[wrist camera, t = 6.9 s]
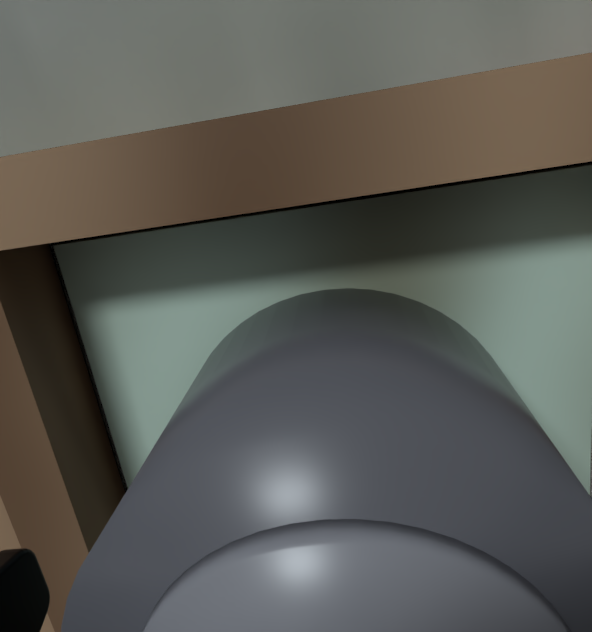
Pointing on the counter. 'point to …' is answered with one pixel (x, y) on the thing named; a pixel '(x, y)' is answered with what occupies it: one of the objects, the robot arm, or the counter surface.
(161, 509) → the cap
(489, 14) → the counter surface
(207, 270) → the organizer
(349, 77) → the counter surface
